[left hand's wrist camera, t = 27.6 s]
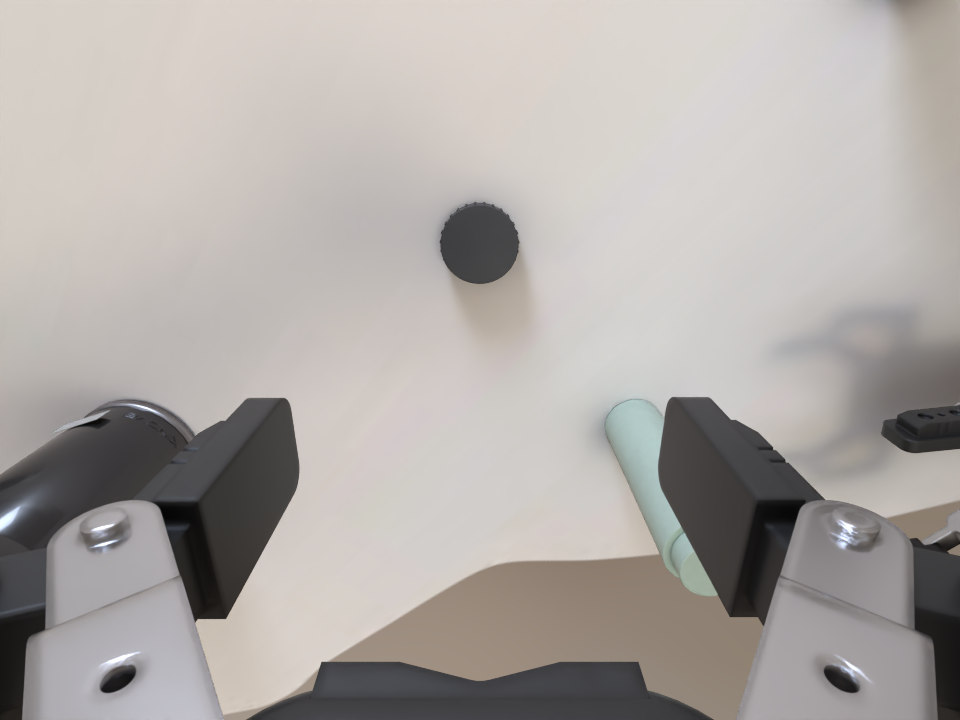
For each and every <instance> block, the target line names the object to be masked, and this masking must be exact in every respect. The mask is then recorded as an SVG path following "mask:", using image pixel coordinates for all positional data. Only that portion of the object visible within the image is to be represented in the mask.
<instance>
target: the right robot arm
mask: <svg viewBox="0 0 960 720" xmlns="http://www.w3.org/2000/svg"><path fill="white" fill-rule="evenodd" d="M881 434H882V436H884V437H885V438H886V439H888V440H889V441H890V442H892V443H893V444H894V445H896V446H897V447H899V448H900V449H901V450H903V451H906V452H910V453H922V452H932V451H942V450H953V449H960V401H959V402H957V403H956V404H955V405H954V406H949V407H939V408H929V409H921V410H910V411H906V412H904V413H901V414H899V415H898V416H897V419H890V420H885V421H884V423H883V427H882V432H881ZM946 522H947V525H946V526H945V527H944V528H942V529H941V530H939V531H937V532H935V533H934V534H932V535H930V536H928V537H927V538H925V539H923V540H922V541H920V540H919V539H918V538H912V539H910V541H911V543H912V546H913V547H917V548H922V549H927V550H932V551H937V552H942V553H947V554H949V553H948V552H947V551H948V550H950V549H952V548H953V547H955V546H957V545H959V544H960V509H958V510H957V511H955V512H953V513H952V514H950V515H948V517H947V518H946Z"/></svg>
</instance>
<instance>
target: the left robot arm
mask: <svg viewBox="0 0 960 720" xmlns="http://www.w3.org/2000/svg"><path fill="white" fill-rule="evenodd" d="M68 428H69V429H68ZM64 429H68V430H66V431H65V432H63V433H62V434H60V435H58V436H57V437H55V438H54V439H52V440H51V441H50V442H48V443H47V444H45V445H44V446H42V447H41V448H39V449H38V450H36V451H35V452H33V453H32V454H30V455H29V456H27V457H26V458H24V459H23V460H21V461H20V462H18V463H17V464H15V465H14V466H12V467H11V468H9V469H8V470H6V471H5V472H4V473H2V474H1V475H0V720H224V717H223V714H222V711H221V707H220V704H219V701H218V697H217V694H216V691H215V687H214V684H213V681H212V677H211V674H210V671H209V667H208V664H207V661H206V658H205V654H204V651H203V648H202V644H201V641H200V638H199V634H198V631H197V628H196V624H195V622H196V621H197V619H226V618H227V616H228V614H229V612H230V611H231V609H232V607H233V605H234V603H235V601H236V600H237V598H238V596H239V594H240V592H241V590H242V589H243V587H244V585H245V583H246V581H247V579H248V578H249V576H250V574H251V572H252V570H253V568H254V567H255V565H256V563H257V561H258V559H259V557H260V556H261V554H262V552H263V550H264V548H265V546H266V545H267V543H268V541H269V539H270V537H271V535H272V534H273V532H274V530H275V528H276V526H277V524H278V523H279V521H280V519H281V517H282V515H283V513H284V512H285V510H286V508H287V506H288V504H289V502H290V501H291V499H292V497H293V495H294V493H295V491H296V488H297V485H298V479H299V459H298V452H297V446H296V439H295V432H294V425H293V419H292V412H291V407H290V404H289V402H288V400H287V399H285V398H248V399H246V400H245V401H244V402H243V403H242V404H241V405H240V406H239V407H238V408H237V409H236V410H235V412H234V413H233V414H232V415H231V416H230V417H229V418H228V419H227V420H226V421H220V422H218V423H216V424H215V425H213V426H211V427H209V428H207V429H206V430H204V431H202V432H200V433H198V434H197V435H196V436H195V437H194V436H193V434H192V433H191V432H190V430H189V429H188V428H187V427H186V426H185V425H184V424H183V423H182V422H181V421H180V420H179V419H177V418H176V417H175V416H173V415H172V414H171V413H169V412H167V411H165V410H164V409H162V408H159V407H157V406H155V405H152V404H149V403H145V402H141V401H134V400H120V401H114V402H110V403H107V404H104V405H102V406H100V407H98V408H97V409H95V410H94V411H92V412H91V413H89V414H88V415H87V416H85V417H84V418H83V419H80V420H77V421H74V422H71V423H68V424H65V425H63V426H62V427H60V428H59V429H57V430H56V431H54V432H53V433H55V432H58V431H61V430H64ZM658 476H659V482H660V486H661V489H662V492H663V494H664V496H665V497H666V499H667V501H668V503H669V505H670V507H671V509H672V510H673V512H674V514H675V516H676V518H677V520H678V522H679V523H680V525H681V527H682V529H683V531H684V533H685V535H686V536H687V538H688V540H689V542H690V544H691V546H692V547H693V549H694V551H695V553H696V555H697V557H698V559H699V560H700V562H701V564H702V566H703V568H704V570H705V572H706V573H707V575H708V577H709V579H710V581H711V583H712V585H713V586H714V588H715V590H716V592H717V594H718V596H719V598H720V599H721V601H722V603H723V605H724V607H725V609H726V611H727V612H728V614H729V616H730V617H758V618H759V620H760V621H761V623H762V625H763V626H764V628H763V631H762V634H761V638H760V641H759V644H758V648H757V651H756V654H755V658H754V661H753V664H752V667H751V671H750V674H749V677H748V681H747V684H746V687H745V691H744V694H743V697H742V701H741V704H740V707H739V711H738V714H737V717H736V720H960V556H957V555H952V554H947V553H942V552H937V551H932V550H927V549H922V548H917V547H913V546H912V543H911V541H910V539H909V538H908V537H907V535H906V534H905V533H904V532H903V531H902V530H901V529H900V528H899V527H897V526H896V525H894V524H893V523H892V522H890V521H889V520H887V519H886V518H884V517H882V516H880V515H878V514H876V513H874V512H872V511H870V510H867V509H865V508H862V507H859V506H856V505H853V504H849V503H845V502H840V501H832V500H825V499H824V498H823V497H822V496H821V495H820V494H819V493H818V492H817V491H816V490H815V489H814V488H813V487H812V486H811V485H810V484H809V483H808V482H807V481H806V480H805V479H804V478H803V477H802V476H801V475H800V474H799V473H798V472H797V471H796V470H795V469H794V468H793V467H792V466H791V465H790V464H789V463H786V462H785V459H784V458H783V457H782V456H781V455H780V454H779V453H778V452H777V451H776V450H773V447H772V446H771V445H770V444H769V443H768V442H767V441H766V440H765V439H764V438H763V437H762V436H761V435H760V434H759V433H758V432H756V431H755V430H753V429H751V428H749V427H747V426H746V425H744V424H742V423H740V422H738V421H737V420H730V418H729V417H728V416H727V415H726V414H725V413H724V412H723V411H722V410H721V409H720V408H719V407H718V406H717V405H716V404H715V403H714V401H713V400H712V399H710V398H709V397H672V398H671V399H670V400H669V401H668V404H667V407H666V412H665V419H664V426H663V433H662V439H661V446H660V453H659V460H658ZM247 720H713V719H712V718H710V717H708V716H707V715H705V714H703V713H702V712H700V711H698V710H696V709H694V708H692V707H690V706H688V705H686V704H684V703H682V702H680V701H678V700H675V699H672V698H669V697H667V696H664V695H661V694H658V693H655V692H651V691H647V688H646V685H645V682H644V679H643V675H642V672H641V669H640V666H639V663H638V662H559V663H554V664H550V665H547V666H543V667H539V668H535V669H531V670H527V671H523V672H519V673H515V674H511V675H507V676H503V677H499V678H495V679H491V680H486V681H473V680H469V679H465V678H461V677H457V676H453V675H449V674H445V673H441V672H437V671H433V670H429V669H425V668H421V667H417V666H413V665H409V664H405V663H401V662H321V666H320V669H319V672H318V675H317V679H316V682H315V685H314V688H313V691H309V692H305V693H302V694H299V695H296V696H293V697H291V698H288V699H285V700H282V701H280V702H278V703H276V704H274V705H272V706H270V707H268V708H266V709H264V710H262V711H260V712H258V713H257V714H255V715H253V716H252V717H250V718H248V719H247Z"/></svg>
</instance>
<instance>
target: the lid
mask: <svg viewBox="0 0 960 720" xmlns="http://www.w3.org/2000/svg"><path fill="white" fill-rule="evenodd" d="M514 225H515V224H514V222H512V221H511V220H510V218H509V215H508V214H507V215H506V214H505V213H504V212H503V210H502V209H499V208H497V207H495V206H494V204H492V205H489V204H485V202H484V203H476V202H474V204H470V205H467V204H466V205H465V206H464V207H462V208H460V209H459V208H458V209H457V211H456V212H455V213H454V214H453V215H452V214H451V215H450V219H449V220H448V222H447V221H446V223H445V227H444V230H442V232H441V234H442V237H441V240H440V243H441V252H442V256H443V260H444V261H445V263H446V265H447V267H448V268H449V269H450V271H451V272H452V273H453V274H454V275H456V276H457V277H459V278H460V279H462V280H464V281H467V282H470V283H476V284H484V283H489V282H493V281H495V280H497V279H499V278H501V277H502V276H503V275H505V274H506V273H507V272H508V271H509V269H511V267H512V265H513V264H514V262H515V260H516V257H517V253H518V243H519V240H518V236H517V234H518V232H517V230H515V227H514Z"/></svg>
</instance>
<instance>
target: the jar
mask: <svg viewBox="0 0 960 720" xmlns="http://www.w3.org/2000/svg"><path fill="white" fill-rule="evenodd" d="M663 426H664V417H663V416H662V414H661V413H660V411H659V410H658V409H657V408H656V407H655V406H654V405H653V404H651V403H650V402H648V401H644V400H637V399H636V400H629V401H625V402H623V403H621V404H619V405H618V406H616V407H615V408H614V409H613V410H612V411H611V412H610V414H609V415H608V417H607V420H606V423H605V431H606V435H607V437H608V439H609V442H610V444H611V446H612V448H613V450H614V453H615V455H616V457H617V459H618V462H619V464H620V466H621V468H622V470H623V473H624V475H625V477H626V479H627V482H628V484H629V486H630V488H631V491H632V493H633V495H634V497H635V499H636V502H637V504H638V506H639V508H640V511H641V513H642V515H643V517H644V520H645V522H646V524H647V526H648V528H649V531H650V533H651V535H652V537H653V540H654V542H655V544H656V546H657V548H658V551H659V553H660V555H661V557H662V560H663V562H664V564H665V566H666V568H667V569H668V570H669V571H670V572H671V573H672V574H673V575H674V576H676V577H678V578H680V580H681V582H682V584H683V585H684V586H685V587H686V588H687V589H688V590H689V591H691V592H693V593H695V594H698V595H702V596H718V594H717V592H716V590H715V588H714V586H713V585H712V583H711V581H710V579H709V577H708V575H707V573H706V572H705V570H704V568H703V566H702V564H701V562H700V560H699V559H698V557H697V555H696V553H695V551H694V549H693V547H692V546H691V544H690V542H689V540H688V538H687V536H686V535H685V533H684V531H683V529H682V527H681V525H680V523H679V522H678V520H677V518H676V516H675V514H674V512H673V510H672V509H671V507H670V505H669V503H668V501H667V499H666V497H665V496H664V494H663V492H662V489H661V486H660V482H659V476H658V460H659V453H660V446H661V439H662V433H663Z"/></svg>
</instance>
